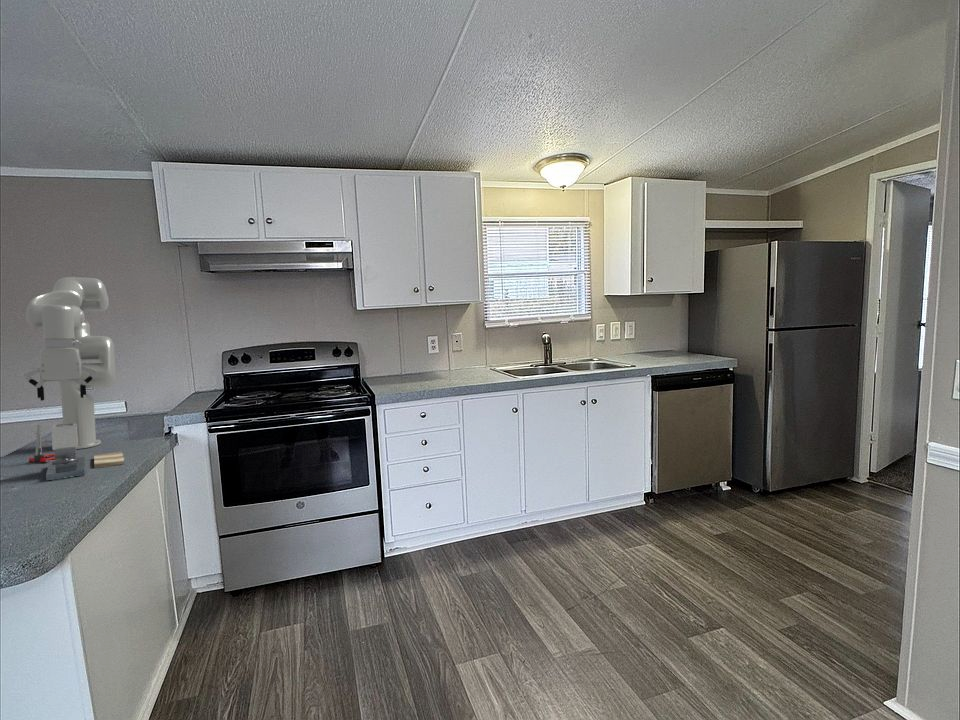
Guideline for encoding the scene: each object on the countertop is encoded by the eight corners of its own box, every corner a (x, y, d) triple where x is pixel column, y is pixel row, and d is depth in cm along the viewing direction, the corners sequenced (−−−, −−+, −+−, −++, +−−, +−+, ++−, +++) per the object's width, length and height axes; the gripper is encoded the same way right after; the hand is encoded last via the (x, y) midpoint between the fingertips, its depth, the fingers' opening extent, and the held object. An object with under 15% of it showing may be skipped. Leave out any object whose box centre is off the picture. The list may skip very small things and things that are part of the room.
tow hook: (53, 456, 178) (25, 462, 169) (53, 420, 178) (25, 424, 168) (73, 457, 177) (47, 464, 168) (73, 421, 176) (46, 425, 167)
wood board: (94, 458, 174) (94, 455, 174) (122, 455, 179) (122, 451, 179) (94, 468, 163) (94, 464, 163) (124, 464, 168) (124, 460, 168)
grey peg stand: (50, 467, 164) (47, 425, 163) (85, 462, 169) (82, 421, 168) (46, 481, 150) (43, 435, 148) (84, 475, 155) (82, 431, 154)
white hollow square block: (53, 446, 159) (52, 424, 159) (77, 443, 163) (76, 422, 162) (52, 450, 155) (51, 427, 154) (77, 447, 158) (76, 425, 158)
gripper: (94, 343, 164) (97, 395, 166) (23, 344, 154) (27, 399, 155) (94, 344, 159) (97, 397, 160) (21, 345, 148) (24, 402, 149)
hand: (62, 398), depth 157 cm, fingers open, 9 cm apart
